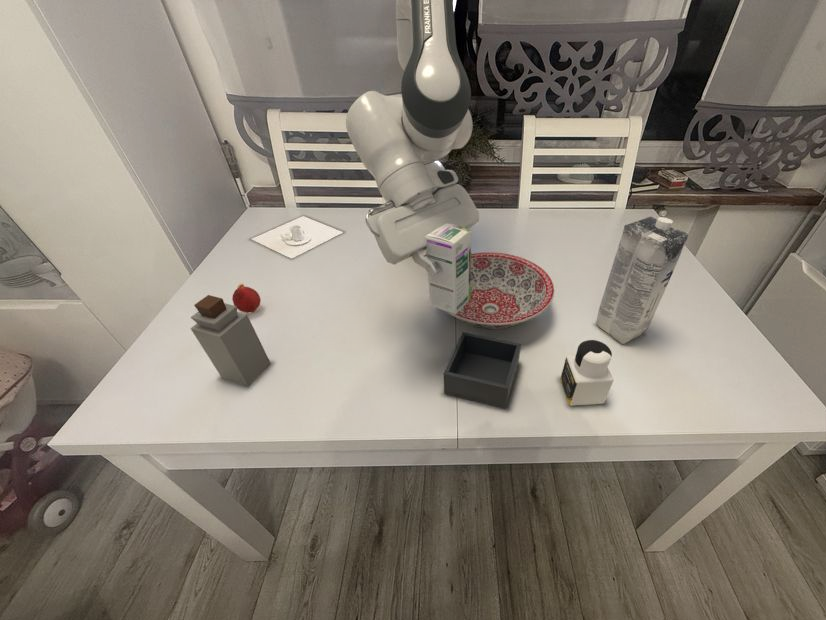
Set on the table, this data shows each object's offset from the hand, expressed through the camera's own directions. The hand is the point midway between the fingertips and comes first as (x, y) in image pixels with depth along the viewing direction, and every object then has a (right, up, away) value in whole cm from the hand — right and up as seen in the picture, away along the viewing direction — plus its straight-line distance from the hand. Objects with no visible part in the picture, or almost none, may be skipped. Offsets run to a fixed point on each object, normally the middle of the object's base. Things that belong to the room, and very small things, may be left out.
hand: (452, 265), depth 68 cm
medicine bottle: (+26, -23, +11) cm, 36 cm away
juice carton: (+39, -10, +24) cm, 47 cm away
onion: (-50, -6, +28) cm, 58 cm away
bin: (+6, -21, +13) cm, 25 cm away
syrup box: (-1, -6, +6) cm, 9 cm away
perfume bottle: (-44, -19, +14) cm, 50 cm away
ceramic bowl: (+8, -5, +29) cm, 31 cm away
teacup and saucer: (-51, +21, +56) cm, 79 cm away
